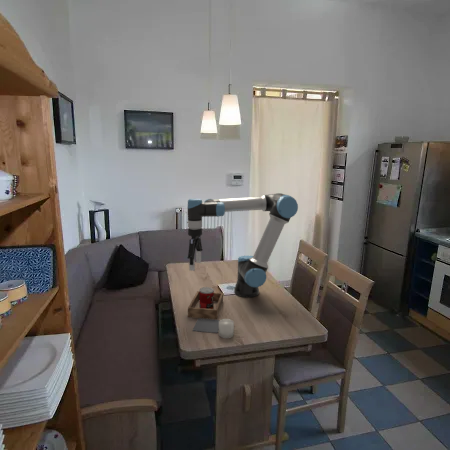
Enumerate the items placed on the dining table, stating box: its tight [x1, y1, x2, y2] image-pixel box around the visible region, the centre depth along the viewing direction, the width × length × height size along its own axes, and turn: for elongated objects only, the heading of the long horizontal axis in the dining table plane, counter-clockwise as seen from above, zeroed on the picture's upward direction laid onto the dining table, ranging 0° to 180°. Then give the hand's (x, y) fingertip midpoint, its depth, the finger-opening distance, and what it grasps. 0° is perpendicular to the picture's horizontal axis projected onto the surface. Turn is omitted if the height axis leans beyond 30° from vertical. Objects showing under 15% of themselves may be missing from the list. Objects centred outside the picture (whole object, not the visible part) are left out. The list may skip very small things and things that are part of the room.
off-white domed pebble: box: [218, 318, 235, 339], centre depth 147 cm, size 7×7×6 cm
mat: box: [192, 318, 221, 334], centre depth 155 cm, size 12×12×1 cm
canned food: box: [198, 286, 215, 309], centre depth 172 cm, size 8×8×11 cm
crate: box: [187, 291, 224, 320], centre depth 172 cm, size 15×22×5 cm
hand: (195, 266), depth 172 cm, fingers open, 13 cm apart
